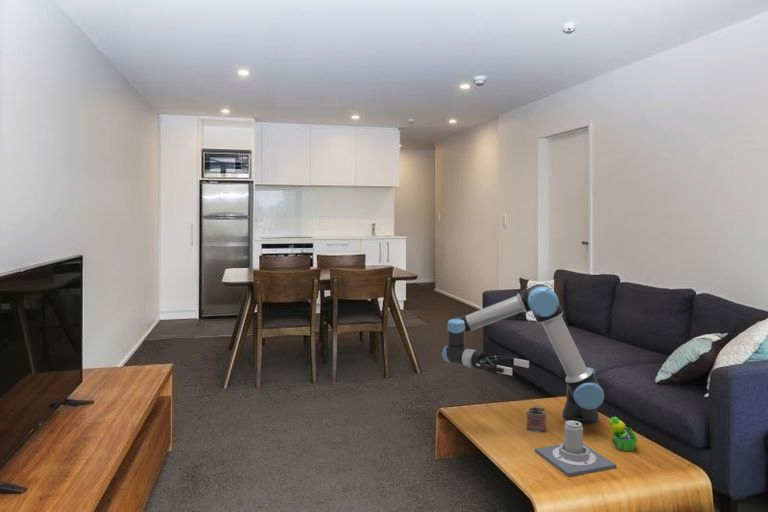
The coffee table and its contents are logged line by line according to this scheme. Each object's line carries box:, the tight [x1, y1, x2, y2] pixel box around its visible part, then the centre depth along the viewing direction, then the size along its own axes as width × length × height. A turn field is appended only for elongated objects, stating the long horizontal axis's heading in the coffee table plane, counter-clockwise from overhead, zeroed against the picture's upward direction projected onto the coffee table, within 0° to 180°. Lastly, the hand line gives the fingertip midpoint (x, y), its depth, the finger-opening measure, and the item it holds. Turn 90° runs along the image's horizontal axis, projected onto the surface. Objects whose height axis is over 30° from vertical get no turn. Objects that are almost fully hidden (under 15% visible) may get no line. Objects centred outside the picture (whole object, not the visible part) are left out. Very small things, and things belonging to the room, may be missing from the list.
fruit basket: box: [609, 416, 638, 452], centre depth 189 cm, size 11×9×11 cm
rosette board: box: [534, 442, 617, 477], centre depth 178 cm, size 20×20×4 cm
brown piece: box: [526, 405, 547, 433], centre depth 205 cm, size 8×3×10 cm, turn 68°
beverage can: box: [563, 420, 584, 454], centre depth 178 cm, size 6×6×12 cm
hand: (520, 368), depth 192 cm, fingers open, 13 cm apart
